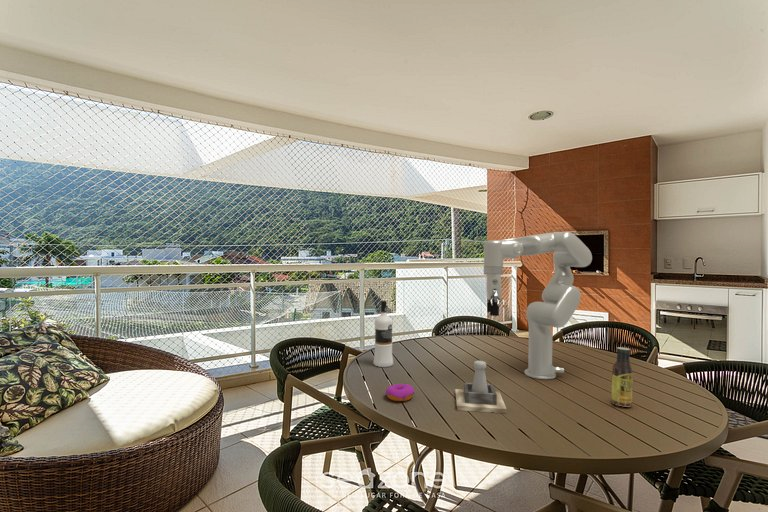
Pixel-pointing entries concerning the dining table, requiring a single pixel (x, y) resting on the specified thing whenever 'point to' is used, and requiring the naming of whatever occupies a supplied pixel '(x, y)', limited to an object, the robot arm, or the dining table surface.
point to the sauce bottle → (622, 379)
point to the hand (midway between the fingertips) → (492, 313)
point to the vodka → (383, 339)
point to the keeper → (479, 400)
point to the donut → (400, 392)
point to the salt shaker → (480, 378)
